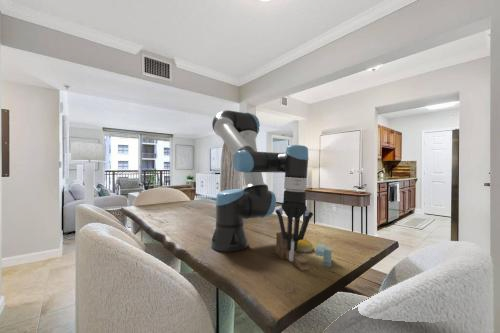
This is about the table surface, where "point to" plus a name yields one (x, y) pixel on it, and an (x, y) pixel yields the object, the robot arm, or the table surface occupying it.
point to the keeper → (324, 254)
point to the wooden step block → (284, 253)
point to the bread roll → (304, 246)
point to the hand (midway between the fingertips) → (291, 259)
